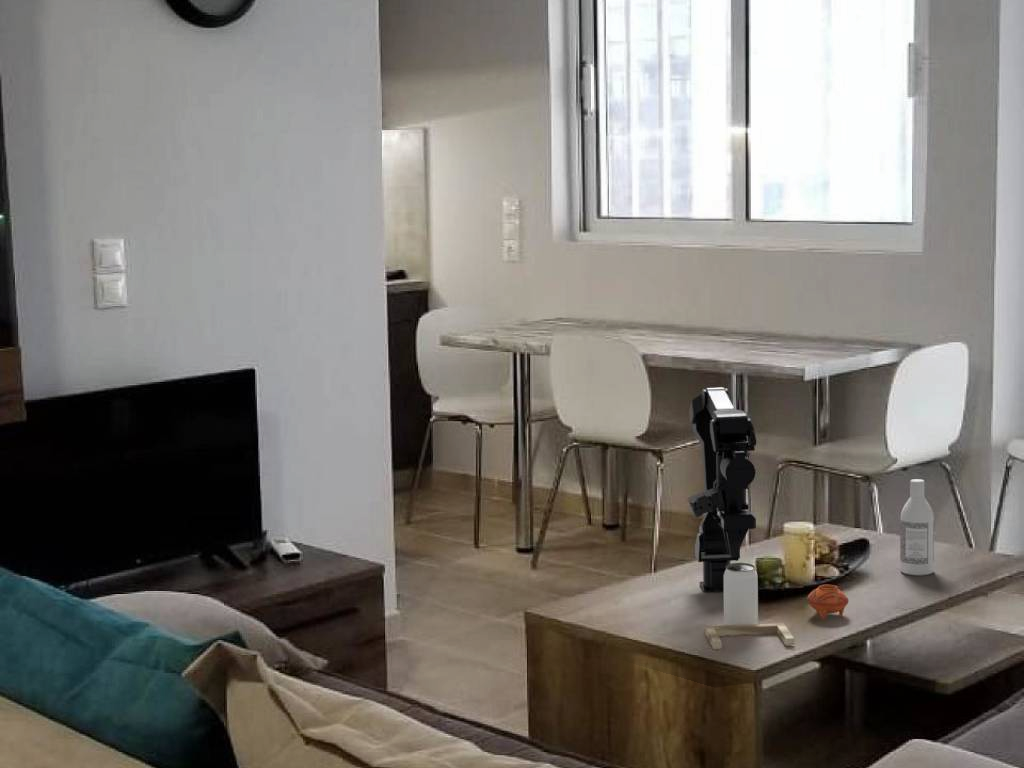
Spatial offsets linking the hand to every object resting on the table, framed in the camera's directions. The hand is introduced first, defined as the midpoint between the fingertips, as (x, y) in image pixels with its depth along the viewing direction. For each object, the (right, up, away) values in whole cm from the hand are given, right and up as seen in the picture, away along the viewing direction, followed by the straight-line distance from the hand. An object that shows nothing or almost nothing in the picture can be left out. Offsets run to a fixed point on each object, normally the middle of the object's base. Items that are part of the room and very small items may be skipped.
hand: (732, 554), depth 321 cm
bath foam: (+43, -7, +28) cm, 52 cm away
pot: (+19, -12, -1) cm, 22 cm away
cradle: (+1, -14, -15) cm, 21 cm away
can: (+1, -13, -7) cm, 15 cm away
